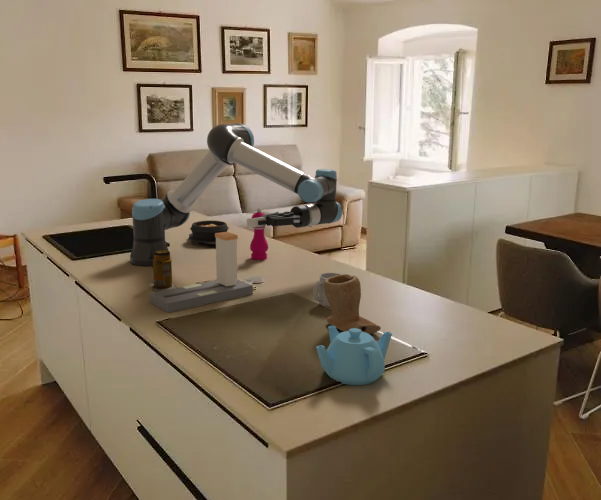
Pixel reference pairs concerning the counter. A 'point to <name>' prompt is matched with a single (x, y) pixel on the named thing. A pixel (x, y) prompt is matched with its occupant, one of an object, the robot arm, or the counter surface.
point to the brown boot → (346, 304)
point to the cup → (322, 289)
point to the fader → (226, 258)
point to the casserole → (206, 231)
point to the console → (198, 295)
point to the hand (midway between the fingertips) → (248, 223)
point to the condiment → (162, 271)
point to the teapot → (354, 356)
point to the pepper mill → (258, 240)
